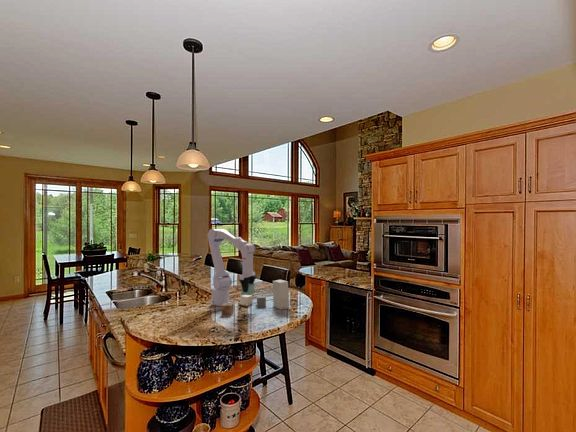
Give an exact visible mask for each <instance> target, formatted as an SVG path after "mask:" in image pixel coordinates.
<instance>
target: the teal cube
mask: <svg viewBox="0 0 576 432" xmlns="http://www.w3.org/2000/svg"><path fill="white" fill-rule="evenodd" d="M253 294H255V283H254V284H248V291H247V292H243V288H242V287H241V296H243V295H253Z"/></svg>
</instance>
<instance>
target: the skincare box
mask: <svg viewBox="0 0 576 432" xmlns="http://www.w3.org/2000/svg"><path fill="white" fill-rule="evenodd" d="M289 291H290V290H289V281H287V280H283V279H277V280H272V294H273V295H272V298H273V299H272V300H273V302H272V303H273V307H274V308H276V309H278V310H284V309H285V310H286V309H290V298H289V297H290V296H289V295H290V294H289V293H290V292H289Z"/></svg>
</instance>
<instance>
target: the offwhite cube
mask: <svg viewBox="0 0 576 432" xmlns="http://www.w3.org/2000/svg"><path fill="white" fill-rule="evenodd" d="M253 297H254V296H253V294H251V295H240V298H239V299H240V300H239V301H240V305H241V306H245V307H248V306H251V305H253V300H254V299H253Z"/></svg>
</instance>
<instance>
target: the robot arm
mask: <svg viewBox="0 0 576 432" xmlns="http://www.w3.org/2000/svg"><path fill="white" fill-rule="evenodd" d="M206 236H207V240H208V245H209V249H210V254H211V258H212V262H213V266H214V271H215V274H214V275H213V277H212V281H213V282H212V286H213V289H212V290H211V291H212V292H211V303H210V305H211V306H216V307H217V306H218V307H222V305H223V304H224V303H233V302H232V301H230V293H229V292H230V288H231V286H232V284H233V283H232V282H233V281H232V278H231V276H230V273H228V272H227V271H226V270H225V266H224V260H223V256H222V252H221V249H220V248H221V247H220V245H221V244H222V243H223V241H224V240H226V241H228V242H230V243H232V247H234V248H235V249H237V250H239V251H240V254H241V258H242V274H241V275H239V282H240V284H241V289H242V288H243V292H247V291H248V284H254V285H255V281H256V278H257V277H256V271H254V253H255V252H256V246H255V244H254V243H252V242H250V243H249V242H248V241H246V240H244V239H243V238H242V237H241V236H239V237H235V236H234V235H233V234H231V233H230V232H229V231H228V230H227V229H225V228H210V229H209V230H208V232H207V234H206Z"/></svg>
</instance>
